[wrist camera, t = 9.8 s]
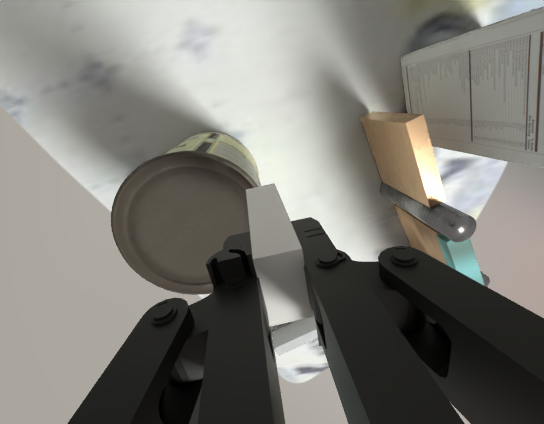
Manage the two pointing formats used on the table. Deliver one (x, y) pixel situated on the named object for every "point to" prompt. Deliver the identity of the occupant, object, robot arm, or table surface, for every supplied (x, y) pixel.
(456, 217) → the gate posts
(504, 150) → the supplement box
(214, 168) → the coffee can
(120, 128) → the table surface
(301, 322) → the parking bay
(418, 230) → the gate
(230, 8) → the table surface
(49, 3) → the table surface
